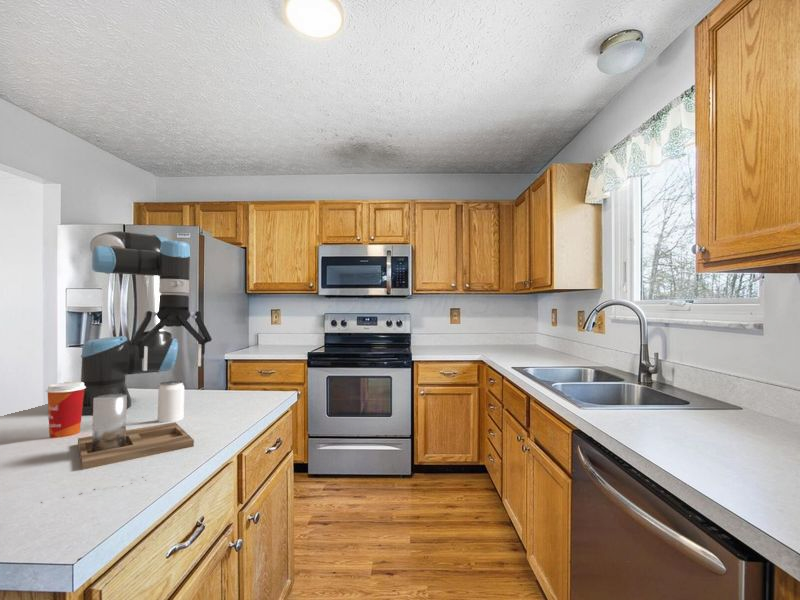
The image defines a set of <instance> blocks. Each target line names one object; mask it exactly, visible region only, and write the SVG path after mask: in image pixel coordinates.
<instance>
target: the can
mask: <svg viewBox="0 0 800 600" xmlns="http://www.w3.org/2000/svg"><path fill="white" fill-rule="evenodd" d="M183 382H184V381H182V380H166V381H162V382H160V386H159V387H158V397H157V398H158V399H157V422H159V423H173V422H178V421H181V420H183V419H184V418H185V417H184V415H185V414H184V413H185V385H184V383H183Z"/></svg>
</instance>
